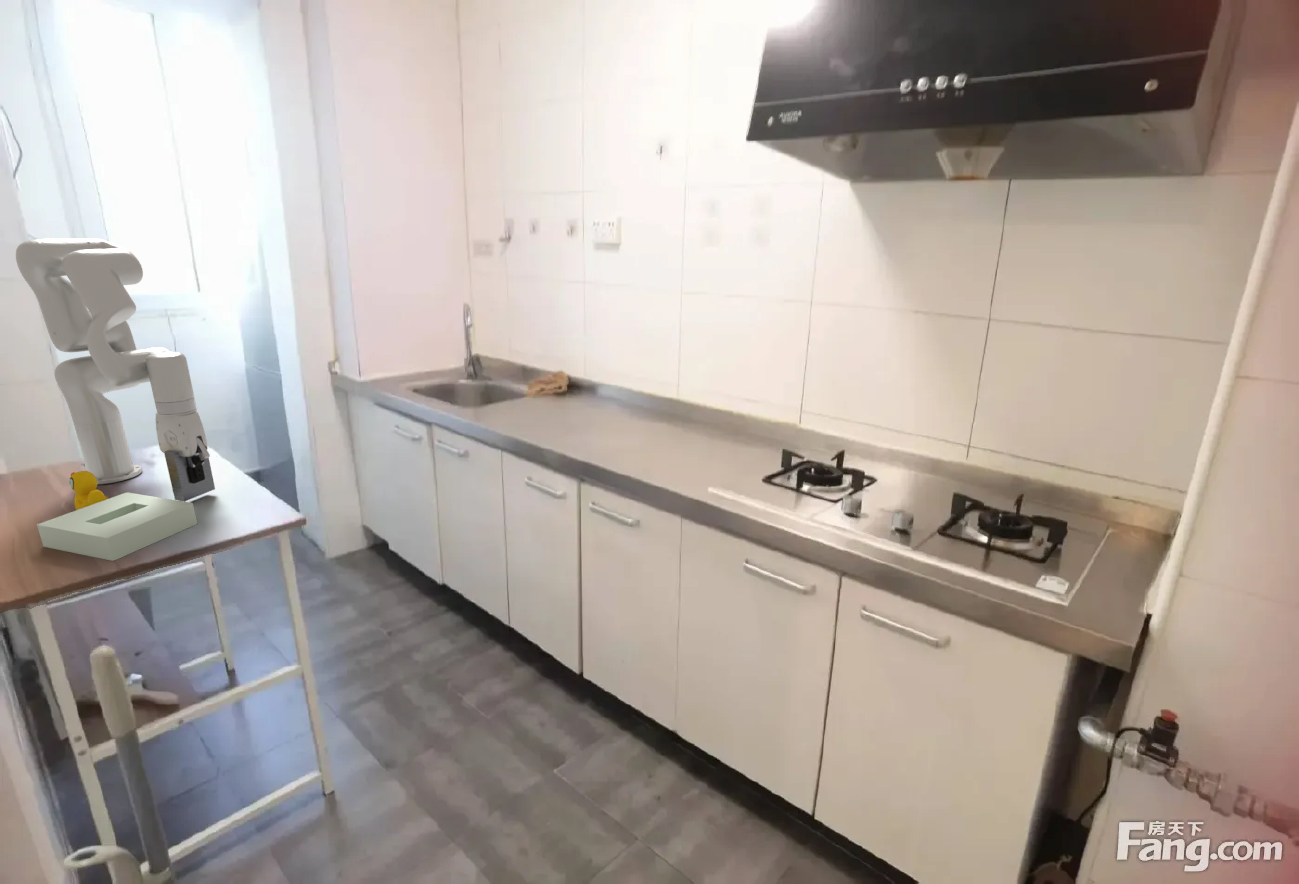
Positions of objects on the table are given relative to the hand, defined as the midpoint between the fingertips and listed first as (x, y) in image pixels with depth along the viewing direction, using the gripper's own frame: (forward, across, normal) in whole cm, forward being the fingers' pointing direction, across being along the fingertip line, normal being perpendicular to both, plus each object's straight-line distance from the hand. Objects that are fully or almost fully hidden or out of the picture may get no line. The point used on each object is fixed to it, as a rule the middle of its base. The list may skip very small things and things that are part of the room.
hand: (192, 479), depth 158 cm
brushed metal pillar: (+4, 0, 0) cm, 4 cm away
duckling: (+6, -15, -13) cm, 21 cm away
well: (+5, +3, -19) cm, 20 cm away
